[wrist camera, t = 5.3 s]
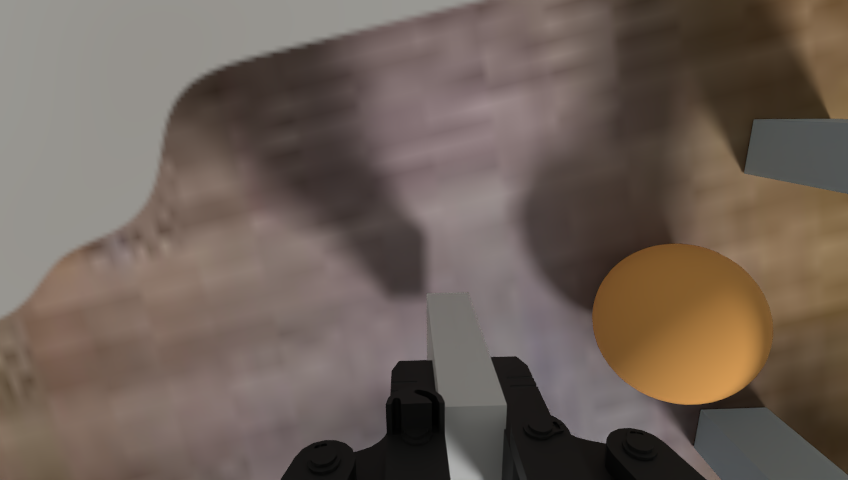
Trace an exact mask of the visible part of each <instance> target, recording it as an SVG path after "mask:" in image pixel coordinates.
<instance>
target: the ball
mask: <svg viewBox="0 0 848 480" xmlns="http://www.w3.org/2000/svg"><path fill="white" fill-rule="evenodd" d="M592 319H593V330H594V334H595V338H596V341H597V344H598V347H599V349H600V351H601V353H602V355H603V357H604V358H605V360H606V361H607V363H608V364H609V366H610V367H611V368H612V369H613V370H614V371H615V372H616V374H617V375H618V376H619V377H620V378H622V379H623V380H624V381H625V382H626V383H628V384H629V385H631V386H632V387H634V388H635V389H637V390H638V391H640V392H642V393H644V394H646V395H648V396H650V397H653V398H656V399H658V400H662V401H666V402H670V403H675V404H684V405H694V404H704V403H711V402H715V401H718V400H722V399H724V398H727V397H729V396H731V395H733V394H735V393H737V392H738V391H740V390H741V389H743V388H744V387H746V386H747V385H748V384H749V383H750V382H751V381H752V380H753V379H754V378H755V377H756V376H757V375H758V373H759V372H760V371H761V369H762V368H763V366H764V365H765V363H766V361H767V358H768V356H769V353H770V350H771V346H772V340H773V320H772V316H771V312H770V308H769V305H768V303H767V300H766V298H765V296H764V294H763V292H762V291H761V289H760V287H759V286H758V285H757V283H756V282H755V281H754V280H753V279H752V277H751V276H750V275H749V274H748V273H747V272H746V271H745V270H744V269H743V268H742V267H740V266H739V265H738V264H736V263H735V262H733V261H732V260H730V259H729V258H727V257H725V256H723V255H721V254H719V253H717V252H715V251H712V250H710V249H707V248H703V247H699V246H695V245H687V244H663V245H656V246H652V247H648V248H645V249H642V250H640V251H637V252H635V253H633V254H631V255H629V256H628V257H626V258H625V259H623V260H622V261H620V262H619V263H618V264H617V265H616V266H615V267H613V268H612V269H611V271H610V272H609V273H608V274H607V276H606V277H605V278H604V280H603V281H602V283H601V285H600V287H599V289H598V291H597V294H596V297H595V301H594V305H593V314H592Z"/></svg>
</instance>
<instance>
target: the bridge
mask: <svg viewBox="0 0 848 480" xmlns="http://www.w3.org/2000/svg"><path fill="white" fill-rule="evenodd" d="M744 173H745V174H750V175H755V176H760V177H765V178H770V179H775V180H781V181H786V182H791V183H796V184H801V185H806V186H811V187H816V188H821V189H826V190H831V191H836V192H841V193H847V194H848V119H754V121H753V127H752V132H751V138H750V143H749V149H748V154H747V160H746V165H745V171H744ZM694 448H695V449H696V450H697V452H698V453H699V454H700V455H701V456H702V458H703V459H704V460H705V461H706V462H707V463H708V465H709V466H710V467H711V468H712V469H713V470H714V472H715V473H716V474H717V475H718V476H719V477H720V479H721V480H848V475H847V474H846V473H845V472H843V471H842V470H841V469H840V468H839V467H837V466H836V465H835V464H834V463H833V462H831V461H830V460H829V459H828V458H827V457H825V456H824V455H823V454H822V453H820V452H819V451H818V450H817V449H816V448H814V447H813V446H812V445H811V444H810V443H808V442H807V441H806V440H805V439H804V438H802V437H801V436H800V435H799V434H798V433H796V432H795V431H794V430H793V429H792V428H790V427H789V426H788V425H787V424H786V423H784V422H783V421H782V420H781V419H779V418H778V417H777V416H776V415H775V414H773V413H772V412H771V411H770V410H769V409H767V408H736V409H706V410H701V411H700V417H699V422H698V428H697V433H696V439H695V444H694Z"/></svg>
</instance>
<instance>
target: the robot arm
mask: <svg viewBox="0 0 848 480" xmlns="http://www.w3.org/2000/svg"><path fill="white" fill-rule="evenodd" d="M386 422H387V434H386V435H385V437H384V438H383V439H382V440H381V441H380V442H378V443H377V444H375V445H373V446H372V447H369V448H366V449H364V450H360V451H357V452H353V449H352V448H351V447H349V446H348V445H347V444H346V443H343V442H339V441H336V440H324V441H320V442H316V443H313V444H311V445H309V446H307V447H306V448H304V449H302V450H301V451H300V452H299V454H298V455H297V456H296V457H295V458H294V460H293V461H292V463H291V464H290V466H289V467H288V469H287V471H286V472H285V474H284V475H283V477H282V478H281V480H706V479H705V478H704V477H703V476H702V475H700V474H699V473H698V472H697V471H696V470H695V469H694V468H693V467H691V466H690V465H689V464H688V463H687V462H686V461H685V460H684V459H682V458H681V457H680V456H679V455H678V454H677V453H676V452H675V451H673V450H672V449H671V448H670V447H669V446H668V445H667V444H665V443H664V442H663V441H662V440H660V439H659V438H657V437H656V436H654V435H652V434H650V433H647V432H645V431H642V430H637V429H632V428H624V429H617V430H615V431H613V432H611V433H610V434H609V436H608V437H607V441H606V444H605V443H599V442H594V441H589V440H585V439H581V438H577V437H575V436H573V435H571V434H570V432H569V430H568V428H567V427H566V426H565V424H564V423H563V422H562V421H560V420H559V419H557V418H556V417H554V416H551V415H550V413H549V410H548V408H547V406H546V404H545V402H544V400H543V398H542V396H541V394H540V391H539V389H538V387H536V383H535V381H534V379H533V378H532V375H531V372H530V370H529V368H528V366H527V365H526V364H525V363H524V362H522V361H521V360H520V359H519V358H517V357H490V354H489V351H488V348H487V345H486V342H485V340H484V337H483V334H482V331H481V328H480V325H479V322H478V319H477V316H476V313H475V310H474V307H473V305H472V302H471V299H470V296H469V293H427V360H420V361H399V362H398V363H397V365H396V366H395V367H394V368H393V370H392V376H391V396H390V397H389V398H388V400H387V403H386Z"/></svg>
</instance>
